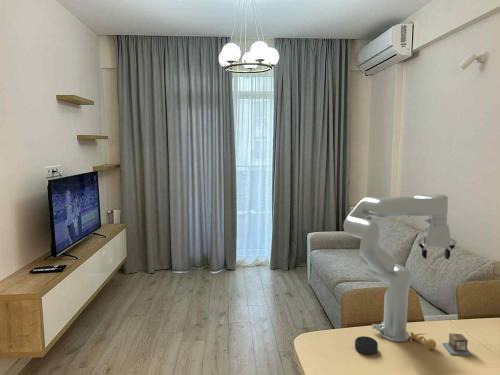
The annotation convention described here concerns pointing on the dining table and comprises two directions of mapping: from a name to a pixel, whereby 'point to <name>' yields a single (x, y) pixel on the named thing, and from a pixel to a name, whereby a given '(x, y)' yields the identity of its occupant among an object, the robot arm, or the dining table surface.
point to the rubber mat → (456, 351)
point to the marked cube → (458, 342)
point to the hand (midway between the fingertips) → (435, 258)
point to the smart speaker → (366, 345)
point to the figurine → (429, 343)
